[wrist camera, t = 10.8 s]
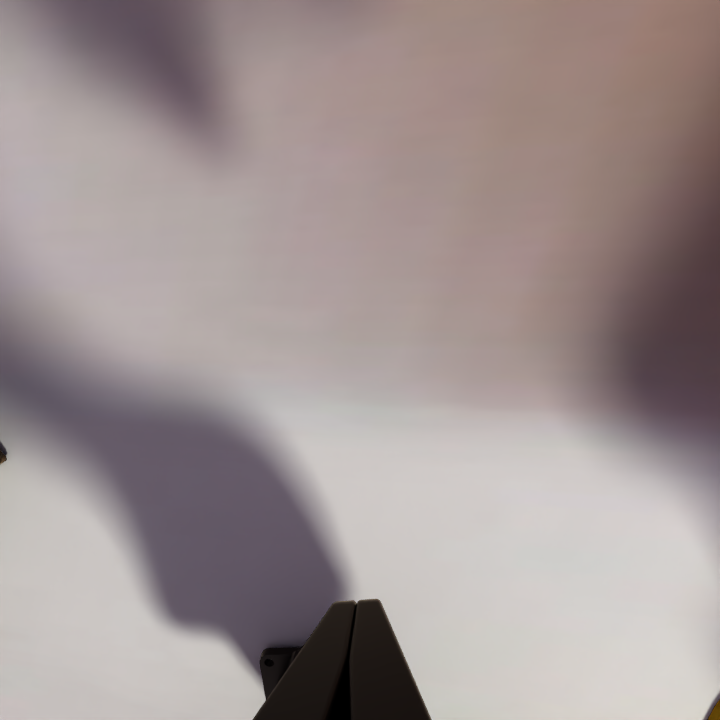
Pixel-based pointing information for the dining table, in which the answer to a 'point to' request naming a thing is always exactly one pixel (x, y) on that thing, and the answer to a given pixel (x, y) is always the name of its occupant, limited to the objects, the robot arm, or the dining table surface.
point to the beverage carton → (2, 457)
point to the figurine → (715, 712)
